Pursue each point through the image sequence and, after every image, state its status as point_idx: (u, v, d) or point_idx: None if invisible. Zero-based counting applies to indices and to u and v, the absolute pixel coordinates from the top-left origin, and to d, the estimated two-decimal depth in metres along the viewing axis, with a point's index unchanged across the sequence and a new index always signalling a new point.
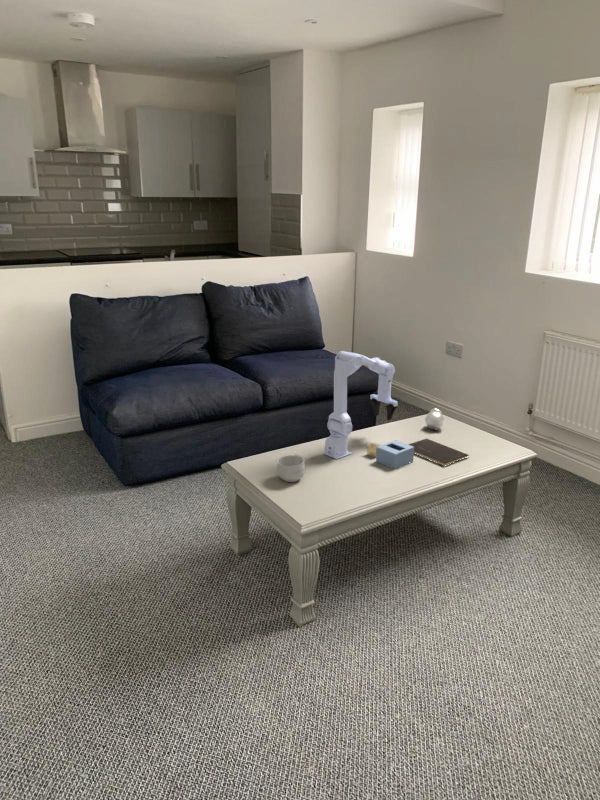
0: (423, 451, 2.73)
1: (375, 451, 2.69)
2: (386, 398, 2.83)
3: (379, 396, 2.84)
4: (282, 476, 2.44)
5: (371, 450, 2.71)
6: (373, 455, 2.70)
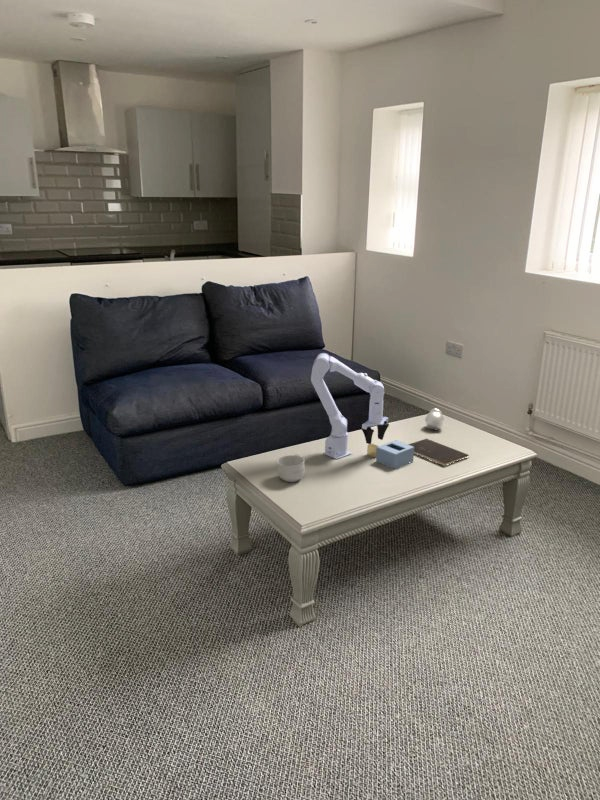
0: (423, 451, 2.72)
1: (375, 451, 2.69)
2: (369, 419, 2.66)
3: None
4: (282, 476, 2.44)
5: (371, 450, 2.71)
6: (373, 455, 2.70)
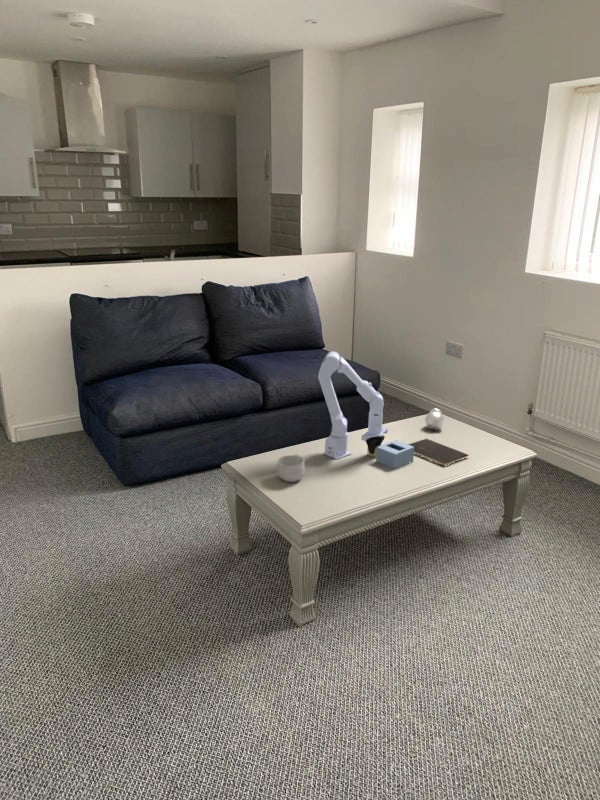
0: (423, 451, 2.72)
1: (375, 450, 2.69)
2: (368, 431, 2.68)
3: None
4: (282, 476, 2.44)
5: None
6: (373, 455, 2.70)
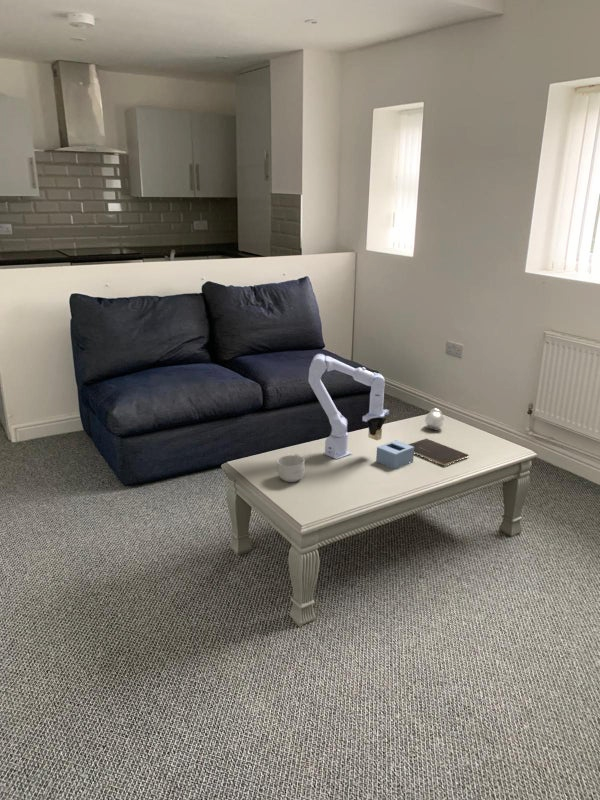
0: (423, 451, 2.72)
1: (376, 433, 2.67)
2: (369, 412, 2.65)
3: None
4: (282, 476, 2.44)
5: None
6: (374, 437, 2.68)
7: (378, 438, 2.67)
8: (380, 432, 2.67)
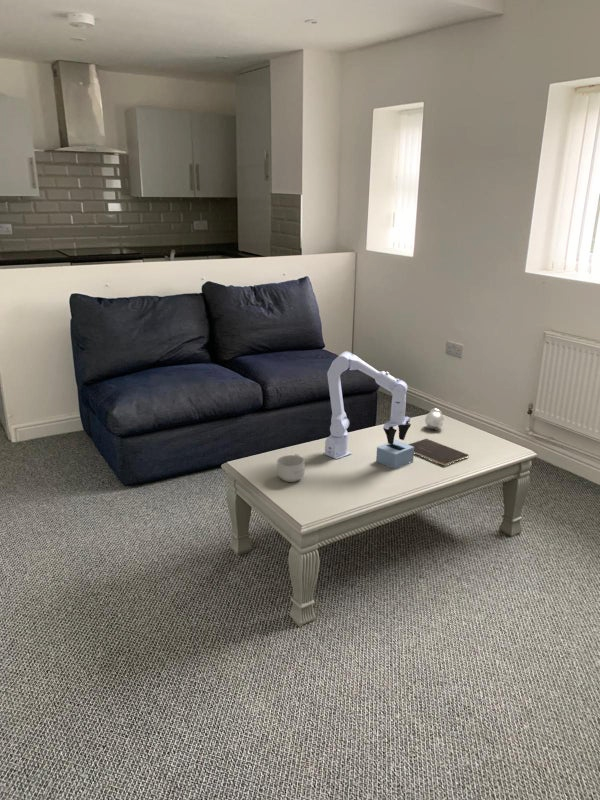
0: (423, 451, 2.72)
1: None
2: (391, 419, 2.60)
3: None
4: (282, 476, 2.44)
5: None
6: None
7: None
8: None
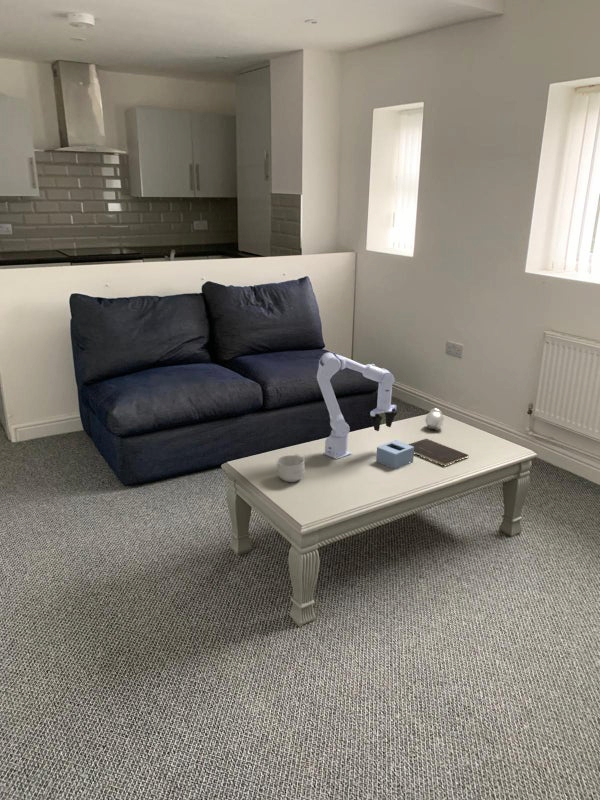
0: (423, 451, 2.72)
1: None
2: (377, 407, 2.70)
3: None
4: (282, 476, 2.44)
5: None
6: None
7: None
8: None
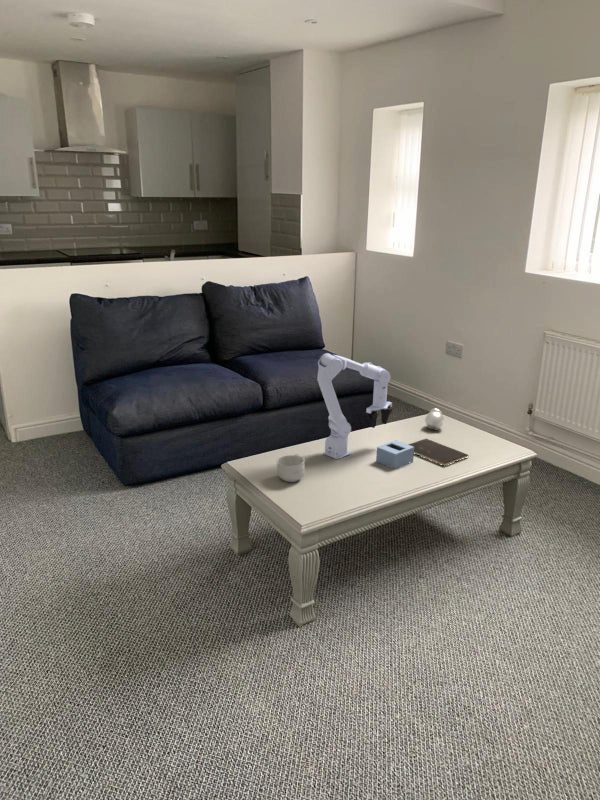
0: (423, 452, 2.72)
1: None
2: (373, 404, 2.74)
3: None
4: (282, 476, 2.44)
5: None
6: None
7: None
8: None
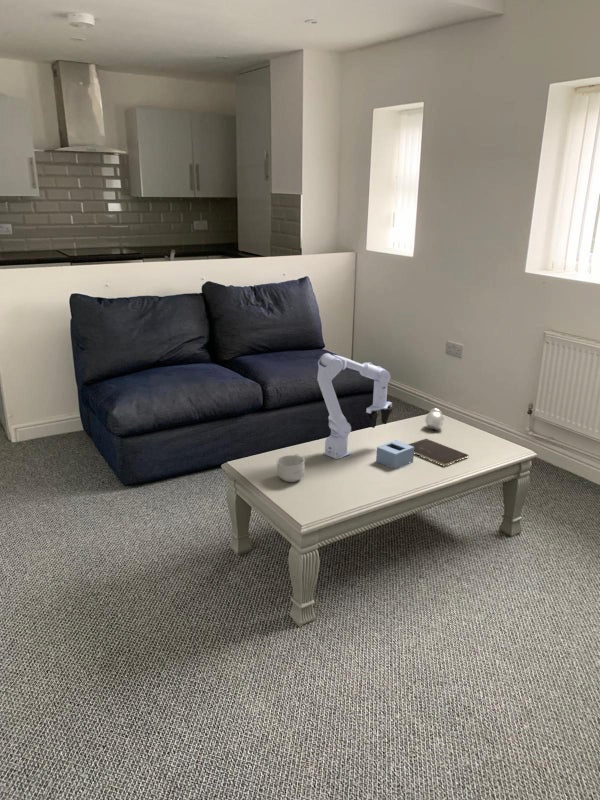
0: (423, 451, 2.72)
1: None
2: (373, 404, 2.74)
3: None
4: (282, 476, 2.44)
5: None
6: None
7: None
8: None
